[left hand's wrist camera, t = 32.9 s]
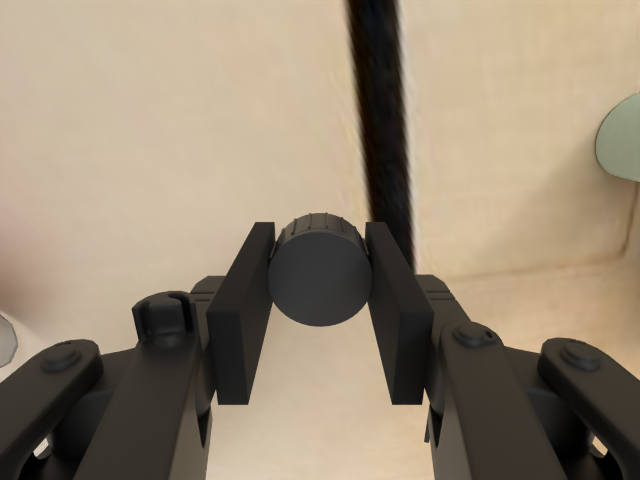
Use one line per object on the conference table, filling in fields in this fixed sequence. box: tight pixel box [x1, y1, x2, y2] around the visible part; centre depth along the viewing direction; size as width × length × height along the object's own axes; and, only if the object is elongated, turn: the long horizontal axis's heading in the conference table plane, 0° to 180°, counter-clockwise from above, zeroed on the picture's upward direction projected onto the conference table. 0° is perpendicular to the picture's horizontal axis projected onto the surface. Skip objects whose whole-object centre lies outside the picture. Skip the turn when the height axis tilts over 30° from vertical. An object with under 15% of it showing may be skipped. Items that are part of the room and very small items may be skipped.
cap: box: [268, 213, 372, 327], centre depth 13 cm, size 4×4×2 cm
